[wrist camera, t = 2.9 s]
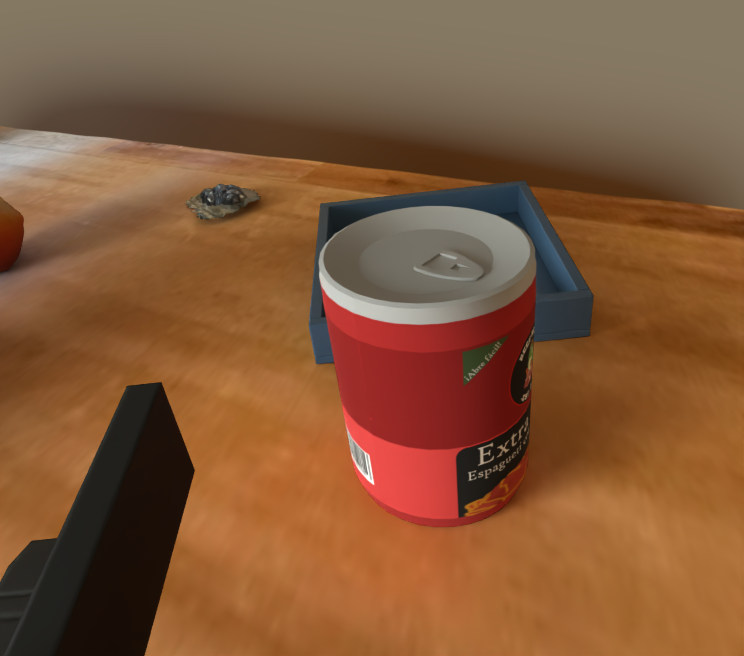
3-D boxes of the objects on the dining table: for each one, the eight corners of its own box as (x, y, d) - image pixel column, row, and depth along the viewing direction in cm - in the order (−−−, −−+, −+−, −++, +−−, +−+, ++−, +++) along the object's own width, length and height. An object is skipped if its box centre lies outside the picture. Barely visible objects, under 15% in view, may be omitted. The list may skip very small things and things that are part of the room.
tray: (325, 235, 50) (320, 203, 48) (524, 213, 49) (525, 180, 48) (316, 364, 36) (308, 325, 35) (589, 336, 36) (594, 295, 34)
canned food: (499, 559, 25) (500, 325, 19) (322, 500, 28) (273, 285, 22) (548, 428, 30) (561, 214, 24) (394, 392, 34) (372, 195, 28)
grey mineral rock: (220, 230, 53) (214, 208, 52) (160, 213, 57) (154, 193, 56) (277, 198, 57) (273, 178, 56) (217, 185, 62) (212, 166, 60)
